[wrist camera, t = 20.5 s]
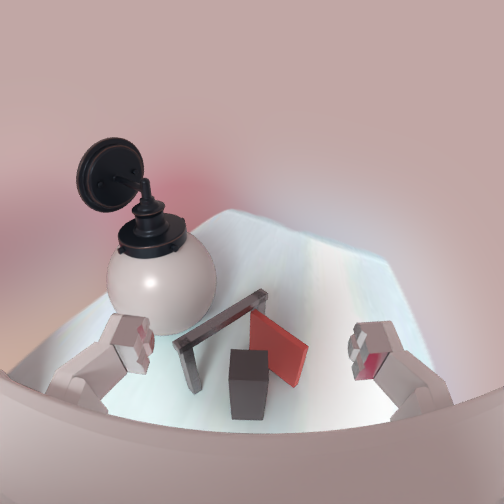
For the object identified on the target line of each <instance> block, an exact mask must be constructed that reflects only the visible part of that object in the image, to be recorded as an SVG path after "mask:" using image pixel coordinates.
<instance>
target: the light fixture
mask: <svg viewBox="0 0 504 504" xmlns="http://www.w3.org/2000/svg"><path fill="white" fill-rule="evenodd" d="M143 175H144V165H143V159H142V157H141V154H140V152H139V150H138V149H137V148H136V147H135V145H134V144H133V143H131V142H130V141H128V140H125V139H123V138H117V137H112V138H106V139H103V140H100V141H99V142H97V143H95V144H94V145H92V146H91V147H90V148H89V149H88V150H87V152H86V153H85V154H84V156H83V157H82V159H81V161H80V163H79V166H78V170H77V176H76V184H77V189H78V192H79V195H80V197H81V198H82V200H83V201H84V202H85V204H86V205H87V206H89V207H90V208H92V209H94V210H95V211H99V212H103V213H108V212H114V211H117V210H119V209H121V208H123V207H124V206H126V205H127V204H128V203H130V202H131V200H132V199H133V198H134V197H135V196H136V194H137V192H138V191H140V192H141V194H142V198H140V203H139V204H137V205H135V206H134V207H133V208H132V213H133V214H134V215H135V219H133V220H131V221H129V222H127V223H126V224H125V225H124V226H122V228H121V229H120V231H119V233H118V240H119V245H118V247H117V248H116V250H115V251H114V253H113V255H112V257H111V259H110V262H109V266H108V270H107V291H108V295H109V298H110V301H111V303H112V305H113V307H114V309H115V311H116V312H117V313H118V314H126V315H133V316H141V317H147V318H149V321H150V326H149V328H150V329H151V330H152V331H153V333H154V335H157V336H167V335H173V334H177V333H180V332H183V331H185V330H187V329H189V328H191V327H192V326H194V325H195V324H196V323H198V322H199V321H200V320H201V319H202V318H203V316H204V315H205V314H206V313H207V311H208V309H209V308H210V306H211V304H212V301H213V298H214V295H215V291H216V270H215V266H214V263H213V260H212V258H211V256H210V254H209V252H208V251H207V249H206V248H205V247H204V245H203V244H202V243H201V242H200V241H199V240H198V239H197V238H196V237H194V236H193V235H192V234H190V233H189V232H187V230H186V223H185V220H184V218H180V217H178V216H176V215H173V214H167V213H163V210H164V208H165V204H164V203H163V202H161V201H157V200H155V199H154V197H153V196H151V188H150V181H149V179H147V178H143Z"/></svg>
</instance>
